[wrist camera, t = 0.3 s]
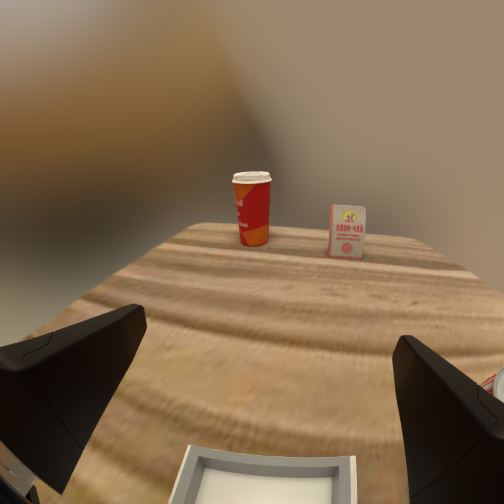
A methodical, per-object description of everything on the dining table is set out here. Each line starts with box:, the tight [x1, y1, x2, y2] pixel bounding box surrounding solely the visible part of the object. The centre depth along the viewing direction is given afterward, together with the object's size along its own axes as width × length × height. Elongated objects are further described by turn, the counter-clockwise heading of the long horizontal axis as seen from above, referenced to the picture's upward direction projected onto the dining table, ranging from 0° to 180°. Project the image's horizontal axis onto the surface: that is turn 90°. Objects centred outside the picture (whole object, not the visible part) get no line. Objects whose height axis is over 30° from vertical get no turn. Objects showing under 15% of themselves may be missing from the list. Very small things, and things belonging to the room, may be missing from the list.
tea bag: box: [328, 204, 366, 259], centre depth 51 cm, size 4×7×10 cm, turn 75°
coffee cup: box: [232, 172, 272, 246], centre depth 58 cm, size 8×8×15 cm
